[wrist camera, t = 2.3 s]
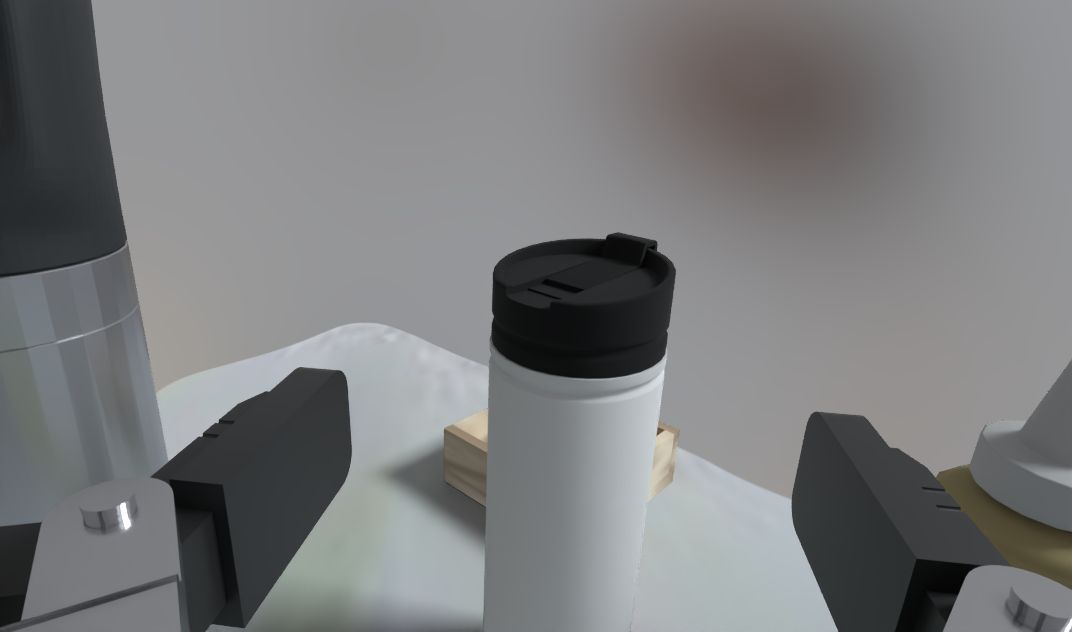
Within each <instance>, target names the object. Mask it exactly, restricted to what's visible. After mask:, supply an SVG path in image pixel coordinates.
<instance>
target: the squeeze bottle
mask: <svg viewBox="0 0 1072 632" xmlns="http://www.w3.org/2000/svg"><path fill="white" fill-rule="evenodd" d="M936 479H937V480H938V481H939V482H940V484H941V485H942V486H943V487H944V488H945V493H948V494H950V495H951V496H952V498H953V499H954V500H955V501H956V502H957V503H958V505H959V506H960V507H961V512H965V513H966V514H967V515H968V516H969V517H970V519H971V520H972V521H973V522H974V523H975V524H976V526H977V527H978V528H979V529H980V530H981V531H982V533H983V534H984V535H985V536H986V537H987V538H988V540H989V541H990V542H991V543H992V544H993V545H994V547H995V548H996V549H997V550H998V551H999V552H1000V554H1001V555H1002V556H1003V557H1004V558H1005V559H1006V561H1007V562H1008V563H1009V564H1010V565H1011V566H1012V567H1014V568H1019V569H1023V570H1026V571H1029V572H1033V573H1036V574H1038V575H1041V576H1044V577H1046V578H1049V579H1051V580H1053V581H1055V582H1057V583H1059V584H1061V585H1063V586H1065V587H1067V588H1069V589H1071V590H1072V360H1071V361H1070V363H1069V364H1068V365H1067V367H1066V368H1065V369H1064V371H1063V372H1062V374H1061V375H1060V376H1059V378H1058V379H1057V381H1056V382H1055V383H1054V385H1053V386H1052V387H1051V389H1050V390H1049V391H1048V393H1047V394H1046V396H1045V397H1044V398H1043V400H1042V401H1041V402H1040V404H1039V405H1038V407H1037V408H1036V410H1035V411H1034V412H1033V414H1032V415H1031V416H1030V418H1029V419H1028V420H1027V421H1008V420H1002V421H999V422H995V423H991V424H988V425H985V427H984V428H983V430H982V432H981V434H980V437H979V439H978V442H977V446H976V448H975V451H974V454H973V457H972V460H971V463H970V464H968V465H963V466H959V467H956V468H952V469H949V470H945V471H942V472H939V474H938V475H937V477H936Z"/></svg>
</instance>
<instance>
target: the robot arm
mask: <svg viewBox="0 0 1072 632" xmlns="http://www.w3.org/2000/svg"><path fill="white" fill-rule="evenodd" d="M351 455H352V445H351V430H350V415H349V401H348V386H347V380H346V377H345V375H344V373H343V372H342V371H339V370H327V369H315V368H304V367H299V368H297V369H295V370H294V371H293V372H292V373H291V374H289V375H288V376H287V377H286V378H285V379H284V380H283V381H281V382H280V383H279V384H278V385H277V386H276V387H275V388H273V389H272V390H271V391H270V392H267V391H266V392H263V393H261V394H259V395H257V396H255V397H252V398H250V399H248V400H246V401H244V402H241V403H239V404H238V405H236V406H235V407H234V408H233V409H232V410H230V411H229V412H228V413H227V414H226V415H224V416H223V417H222V418H221V419H219V423H215V424H213V425H212V426H211V427H210V428H209V429H207V430H206V431H205V432H204V433H203V436H202V437H198V438H197V439H195V440H194V441H193V442H192V443H191V444H189V445H188V446H187V447H186V448H184V449H183V450H182V451H181V452H180V453H178V454H177V455H176V456H175V457H174V458H172V459H171V460H170V461H169V462H168V457H167V451H166V446H165V441H164V435H163V430H162V424H161V419H160V413H159V408H158V403H157V397H156V392H155V386H154V381H153V376H152V371H151V365H150V359H149V354H148V349H147V343H146V338H145V332H144V327H143V321H142V316H141V311H140V305H139V301H138V295H137V290H136V284H135V278H134V273H133V267H132V262H131V257H130V252H129V246H128V241H127V236H126V231H125V226H124V221H123V216H122V210H121V205H120V199H119V193H118V187H117V181H116V175H115V169H114V163H113V157H112V152H111V146H110V139H109V134H108V128H107V122H106V117H105V110H104V103H103V95H102V88H101V81H100V73H99V65H98V56H97V48H96V38H95V29H94V21H93V12H92V3H91V0H0V632H206V630H207V629H208V628H209V626H210V625H211V624H215V625H224V626H232V627H240V628H245V627H246V625H247V624H248V622H249V621H250V619H251V618H252V616H253V615H254V613H255V612H256V611H257V609H258V608H259V606H260V605H261V603H262V602H263V600H264V599H265V597H266V596H267V595H268V593H269V592H270V590H271V589H272V587H273V586H274V584H275V583H276V581H277V580H278V578H279V577H280V576H281V574H282V573H283V571H284V570H285V568H286V567H287V565H288V564H289V562H290V561H291V560H292V558H293V557H294V555H295V554H296V552H297V551H298V549H299V548H300V546H301V545H302V544H303V542H304V541H305V539H306V538H307V536H308V535H309V533H310V532H311V530H312V529H313V528H314V526H315V525H316V523H317V522H318V520H319V519H320V517H321V516H322V514H323V513H324V511H325V510H326V509H327V507H328V506H329V504H330V503H331V501H332V500H333V498H334V497H335V495H336V494H337V493H338V491H339V490H340V488H341V487H342V485H343V484H344V482H345V480H346V477H347V475H348V472H349V468H350V463H351ZM792 518H793V524H794V528H795V531H796V534H797V536H798V538H799V541H800V543H801V545H802V548H803V550H804V552H805V555H806V557H807V559H808V562H809V564H810V566H811V569H812V571H813V573H814V576H815V578H816V580H817V583H818V585H819V587H820V590H821V592H822V594H823V597H824V599H825V601H826V604H827V606H828V608H829V611H830V613H831V615H832V618H833V620H834V622H835V625H836V627H837V629H838V632H1072V590H1071V589H1069V588H1067V587H1065V586H1063V585H1061V584H1059V583H1057V582H1055V581H1053V580H1051V579H1049V578H1046V577H1044V576H1041V575H1038V574H1036V573H1033V572H1029V571H1026V570H1023V569H1019V568H1014V567H1012V566H1011V565H1010V564H1009V563H1008V562H1007V561H1006V559H1005V558H1004V557H1003V556H1002V555H1001V554H1000V552H999V551H998V550H997V549H996V548H995V547H994V545H993V544H992V543H991V542H990V541H989V540H988V538H987V537H986V536H985V535H984V534H983V533H982V531H981V530H980V529H979V528H978V527H977V526H976V524H975V523H974V522H973V521H972V520H971V519H970V517H969V516H968V515H967V514H966V513H965V512H961V507H960V506H959V505H958V503H957V502H956V501H955V500H954V499H953V498H952V496H951V495H950V494H948V493H945V488H944V487H943V486H942V485H941V484H940V482H939V481H938V480H937V479H936V478H935V477H934V476H933V474H932V473H931V472H930V471H929V470H928V468H926V467H925V466H924V465H922V464H920V463H919V462H918V461H916V460H914V459H913V458H911V457H910V456H908V455H907V454H905V453H904V452H902V451H901V450H899V449H898V448H890V447H889V446H888V445H887V444H886V443H885V441H884V440H883V439H882V437H881V436H880V435H879V434H878V432H877V431H876V430H875V429H874V427H873V426H872V425H871V424H870V422H869V421H868V420H867V419H866V418H865V417H864V416H859V415H847V414H836V413H824V412H814V413H813V414H811V416H810V418H809V420H808V422H807V426H806V431H805V435H804V440H803V445H802V450H801V455H800V459H799V464H798V469H797V474H796V478H795V484H794V488H793V494H792Z"/></svg>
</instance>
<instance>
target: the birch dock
mask: <svg viewBox="0 0 1072 632" xmlns="http://www.w3.org/2000/svg"><path fill="white" fill-rule="evenodd" d="M679 432H680V430H678V429H676V428H673V427H671V426H668V425H666V424H664V423H661V422H659V421H658V427H657V435H656V443H655V450H654V458H653V466H652V473H651V481H650V489H649V496H648V501H649V500H650V499H651V498H653V497H654V496H655V495H656V494H657V493H659V492H660V491H661V490H662V489H663V488H665V487H666V486H667V485H668V484H669V483H671V482H672V480H673V473H674V466H675V459H676V452H677V445H678V439H679ZM487 442H488V408H486V409H484V410H482V411H480V412H478V413H476V414H474V415H471V416H469V417H467V418H465V419H463V420H461V421H459V422H457V423H454V424H452V425H450V426H448V427H446V428H444V481H446V482H447V483H449V484H450V485H452V486H453V487H455V488H456V489H458V490H460V491H461V492H463V493H464V494H466V495H467V496H469V497H471V498H472V499H474V500H475V501H477V502H478V503H480V504H482V505H483V506H485V507H486V487H487Z"/></svg>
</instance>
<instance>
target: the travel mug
mask: <svg viewBox="0 0 1072 632" xmlns="http://www.w3.org/2000/svg"><path fill="white" fill-rule="evenodd" d="M675 275H676V270H675V267H674V265H673V263H672V262H671V261H670V260H669V259H668V258H667V257H666V256H664V255H663V254H661V253H659V252H657V241H655V240H650V239H646V238H641V237H636V236H632V235H627V234H623V233H614V234H610V235H608V236H607V237H606V239H567V240H557V241H550V242H543V243H539V244H535V245H531V246H528V247H525V248H522V249H519V250H516V251H515V252H512V253H510V254H508V255H507V256H505V257H504V258H503V259H501V260H500V261H499V262H498V264H497V265H496V266H495V268H494V272H493V295H492V297H493V298H492V312H493V315H494V318H493V322H492V333H491V337H490V352H491V357H490V360H489V398H488V442H487V487H486V531H485V575H484V619H483V632H631V627H632V619H633V611H634V604H635V596H636V588H637V581H638V573H639V565H640V558H641V550H642V542H643V535H644V527H645V519H646V512H647V504H648V496H649V489H650V481H651V473H652V466H653V458H654V450H655V443H656V435H657V427H658V420H659V412H660V404H661V397H662V389H663V381H664V367H665V365H666V358H667V347H666V345H667V336H668V333H667V331H666V330H667V329H668V327H669V322H670V313H671V306H672V299H673V291H674V283H675Z"/></svg>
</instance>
